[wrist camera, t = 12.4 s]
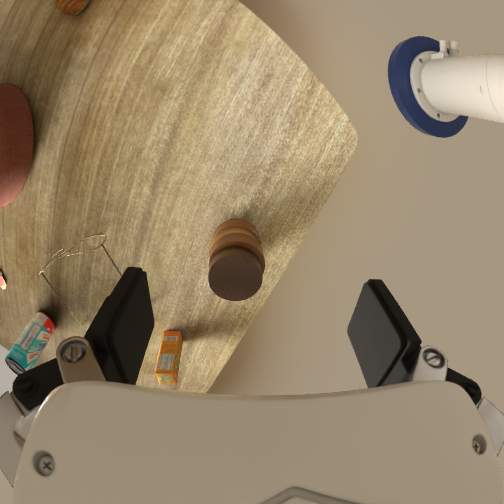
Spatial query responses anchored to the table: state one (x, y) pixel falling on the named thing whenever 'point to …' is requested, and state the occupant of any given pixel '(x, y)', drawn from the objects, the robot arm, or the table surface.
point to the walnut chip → (235, 273)
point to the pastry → (71, 6)
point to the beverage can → (30, 343)
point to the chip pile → (237, 238)
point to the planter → (14, 142)
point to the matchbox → (2, 282)
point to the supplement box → (169, 357)
